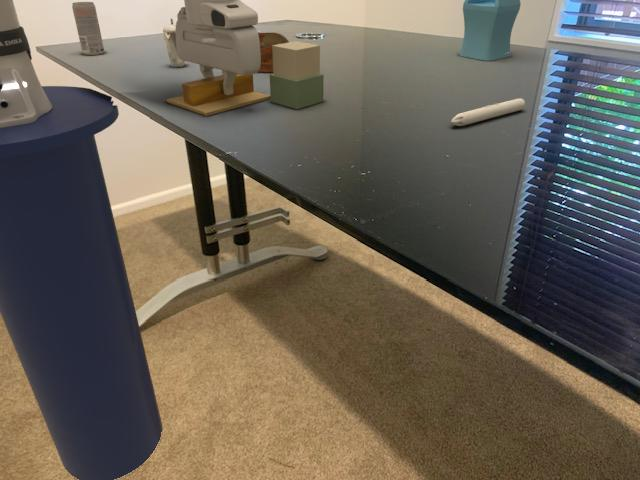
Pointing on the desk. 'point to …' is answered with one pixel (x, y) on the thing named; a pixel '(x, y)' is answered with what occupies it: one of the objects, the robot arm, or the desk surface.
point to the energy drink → (88, 28)
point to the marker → (488, 112)
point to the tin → (268, 49)
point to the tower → (296, 75)
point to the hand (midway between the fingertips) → (219, 91)
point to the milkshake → (172, 45)
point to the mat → (221, 103)
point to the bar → (214, 89)
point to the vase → (488, 28)
